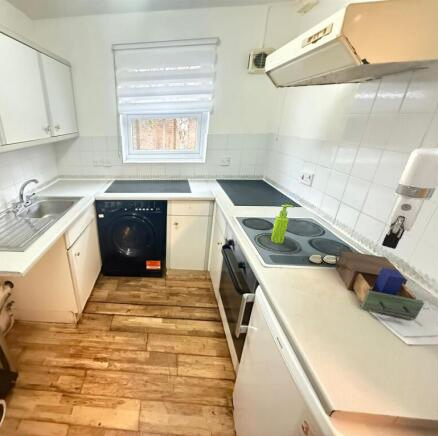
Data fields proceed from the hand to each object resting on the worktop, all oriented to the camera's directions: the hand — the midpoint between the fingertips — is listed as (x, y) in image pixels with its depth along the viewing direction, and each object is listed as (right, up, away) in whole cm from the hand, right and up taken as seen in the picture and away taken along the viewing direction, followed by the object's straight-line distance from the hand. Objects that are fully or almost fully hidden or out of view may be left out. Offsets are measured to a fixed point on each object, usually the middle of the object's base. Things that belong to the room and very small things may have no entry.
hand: (391, 242), depth 77 cm
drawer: (+1, -22, +5) cm, 22 cm away
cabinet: (+6, -17, +17) cm, 25 cm away
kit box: (+1, -20, +5) cm, 21 cm away
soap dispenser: (-10, -4, +49) cm, 50 cm away
